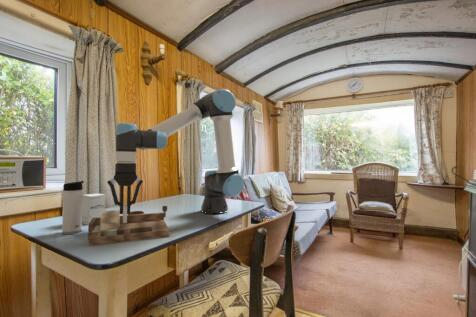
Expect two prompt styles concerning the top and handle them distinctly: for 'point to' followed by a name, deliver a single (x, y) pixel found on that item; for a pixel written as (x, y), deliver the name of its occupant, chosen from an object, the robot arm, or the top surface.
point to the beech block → (110, 220)
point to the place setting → (143, 212)
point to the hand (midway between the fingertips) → (124, 222)
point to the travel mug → (72, 208)
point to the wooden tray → (129, 229)
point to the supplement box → (92, 206)
